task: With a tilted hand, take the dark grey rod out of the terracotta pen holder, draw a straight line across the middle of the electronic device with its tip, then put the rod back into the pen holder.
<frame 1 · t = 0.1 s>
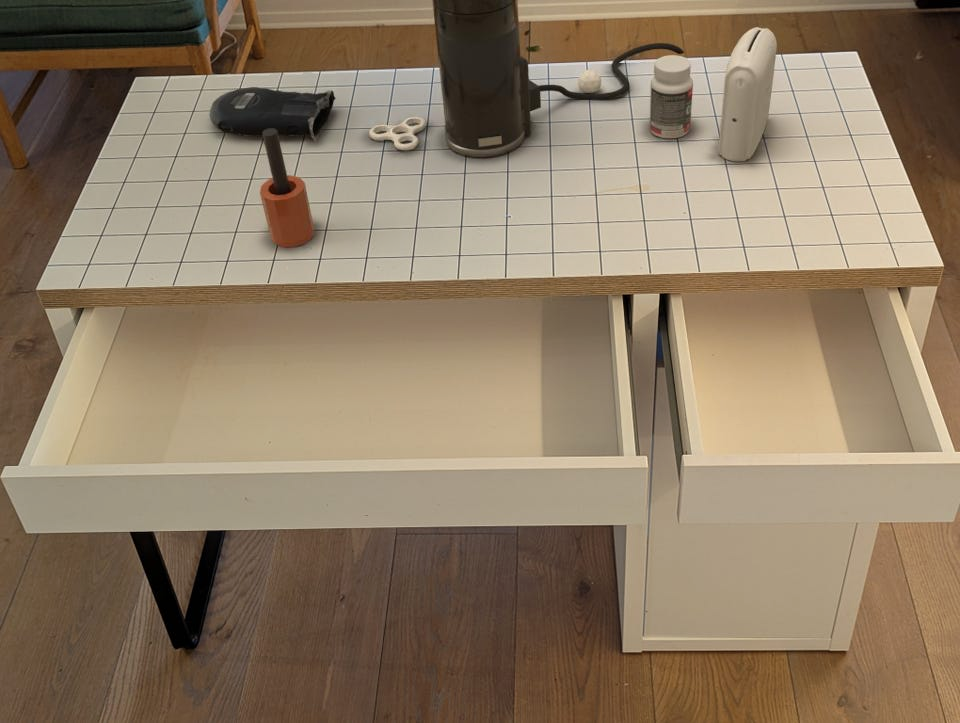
electronic device: (271, 124, 134), on the table
pen holder: (292, 234, 115), on the table
polyhedron: (589, 94, 134), on the table
fidget spinner: (402, 139, 129), on the table
photo printer: (742, 141, 123), on the table
dark grey rod: (292, 230, 115), resting on pen holder
pill bottle: (669, 130, 126), on the table
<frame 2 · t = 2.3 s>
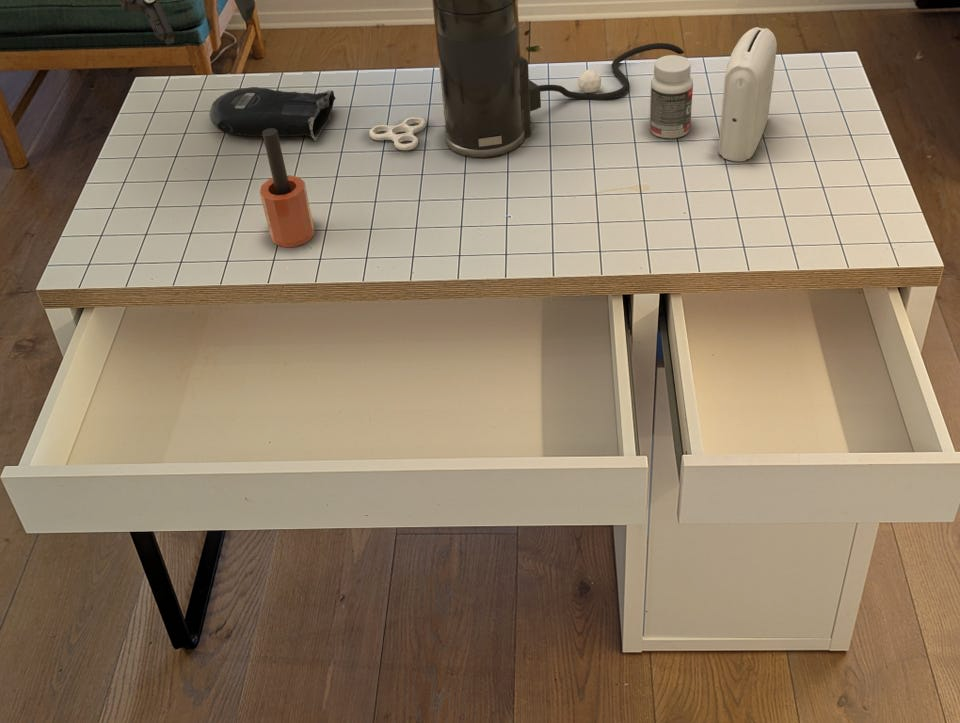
hand: (210, 28, 110), 19 cm above the table, tool tilted 45°, fingers open, 8 cm apart
nothing on the table moved.
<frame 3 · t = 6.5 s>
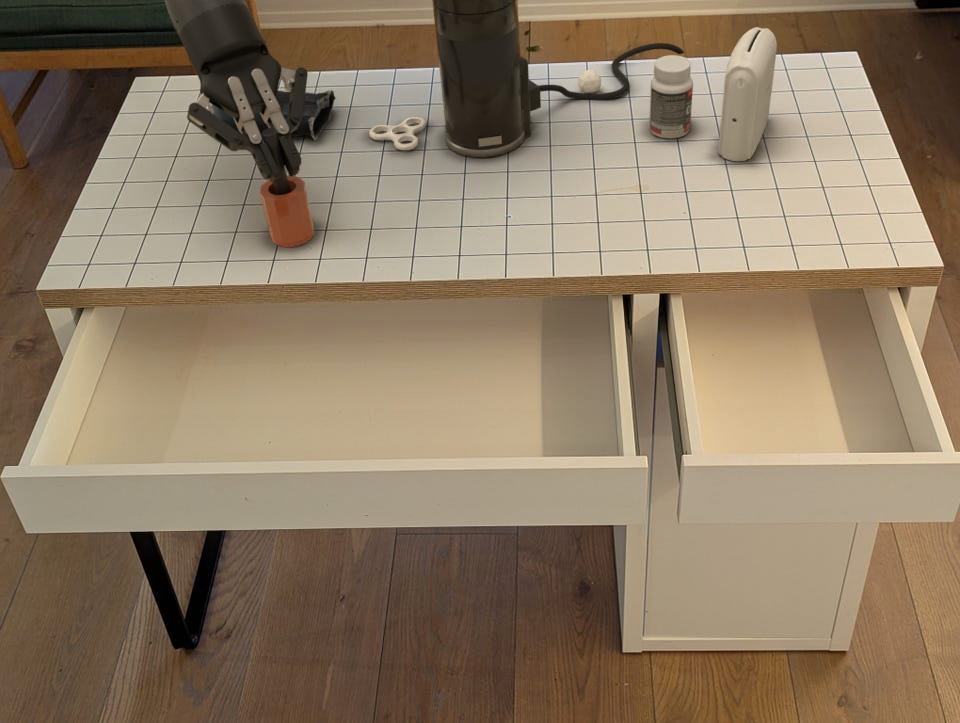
hand: (286, 176, 108), 8 cm above the table, tool tilted 45°, fingers closed on dark grey rod, 1 cm apart
dark grey rod: (291, 230, 115), point 1 cm above the table, touching gripper
everything else where it was.
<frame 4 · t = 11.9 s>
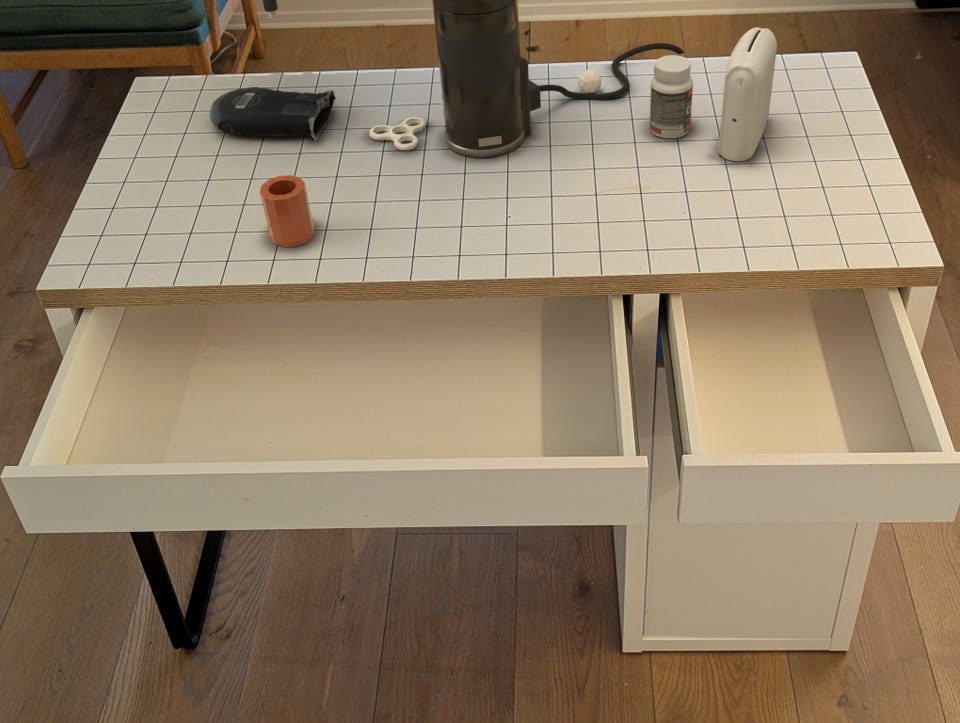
dark grey rod: (272, 17, 121), point 15 cm above the table, touching gripper
everything else where it was.
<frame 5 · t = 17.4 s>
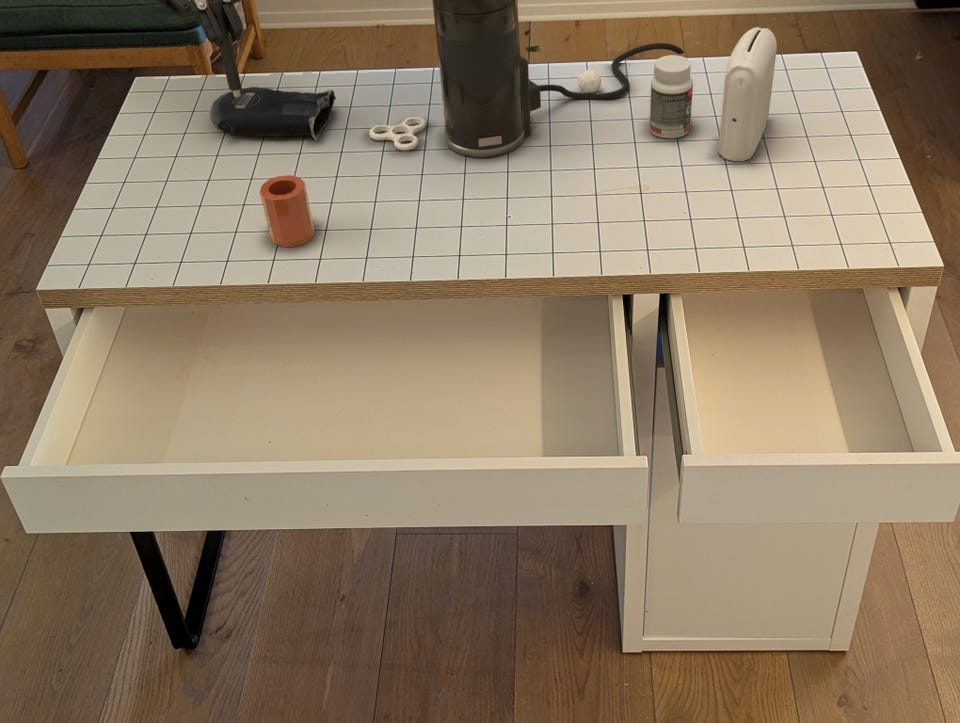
hand: (229, 40, 123), 13 cm above the table, tool tilted 45°, fingers closed on dark grey rod, 1 cm apart
dark grey rod: (237, 95, 130), point 5 cm above the table, touching gripper
everything else where it was.
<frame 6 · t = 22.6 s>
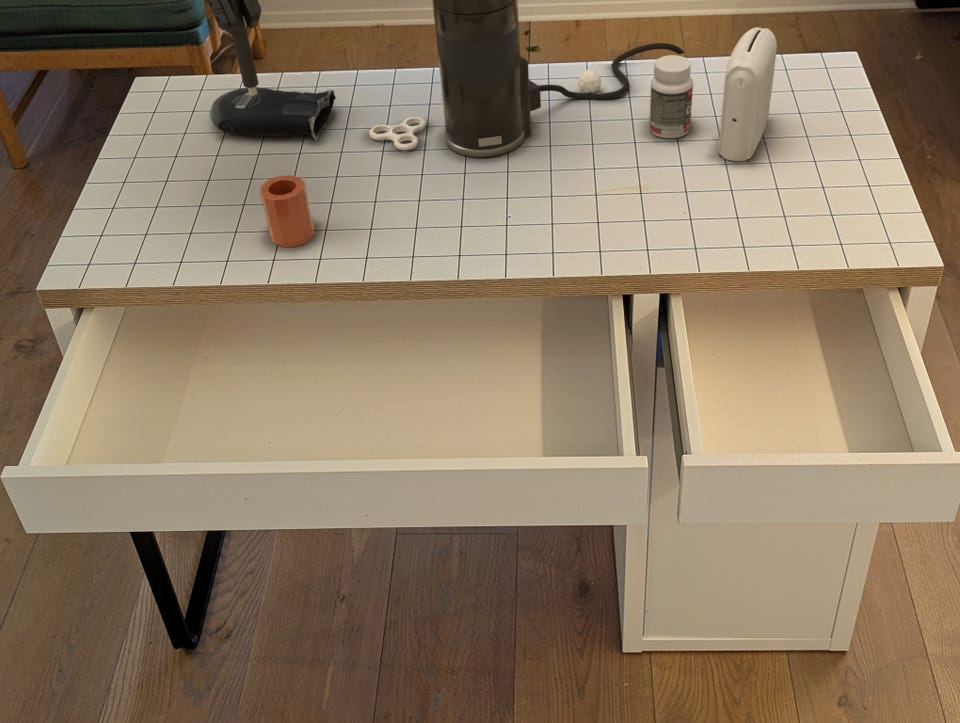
hand: (244, 26, 102), 23 cm above the table, tool tilted 45°, fingers closed on dark grey rod, 1 cm apart
dark grey rod: (253, 93, 108), point 15 cm above the table, touching gripper
everything else where it was.
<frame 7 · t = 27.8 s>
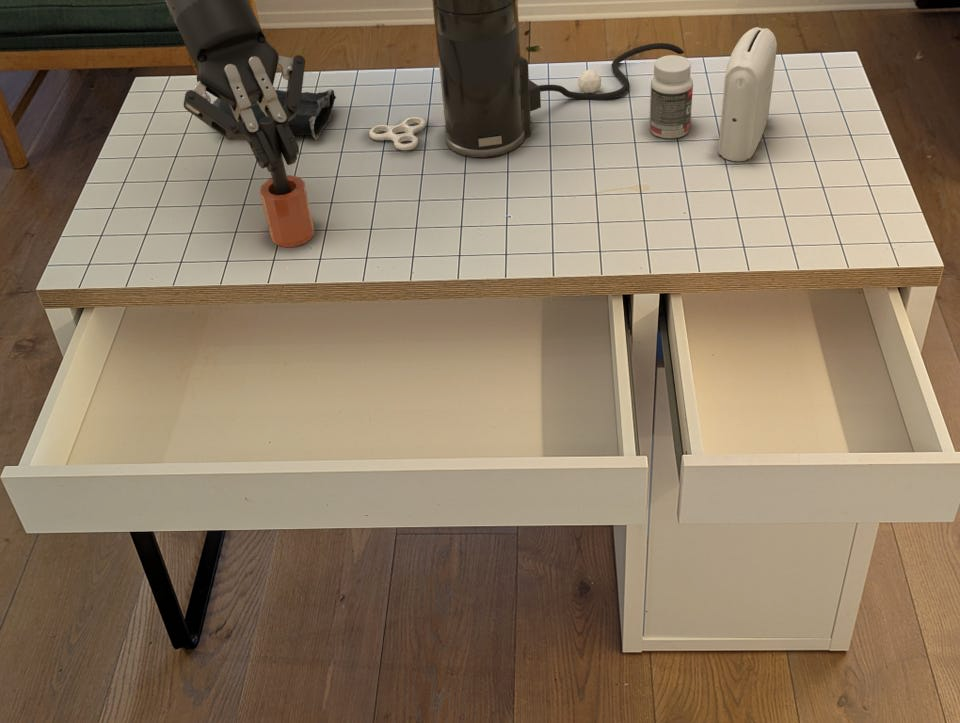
hand: (283, 164, 108), 10 cm above the table, tool tilted 45°, fingers closed on dark grey rod, 1 cm apart
dark grey rod: (289, 220, 114), point 2 cm above the table, touching gripper
everything else where it was.
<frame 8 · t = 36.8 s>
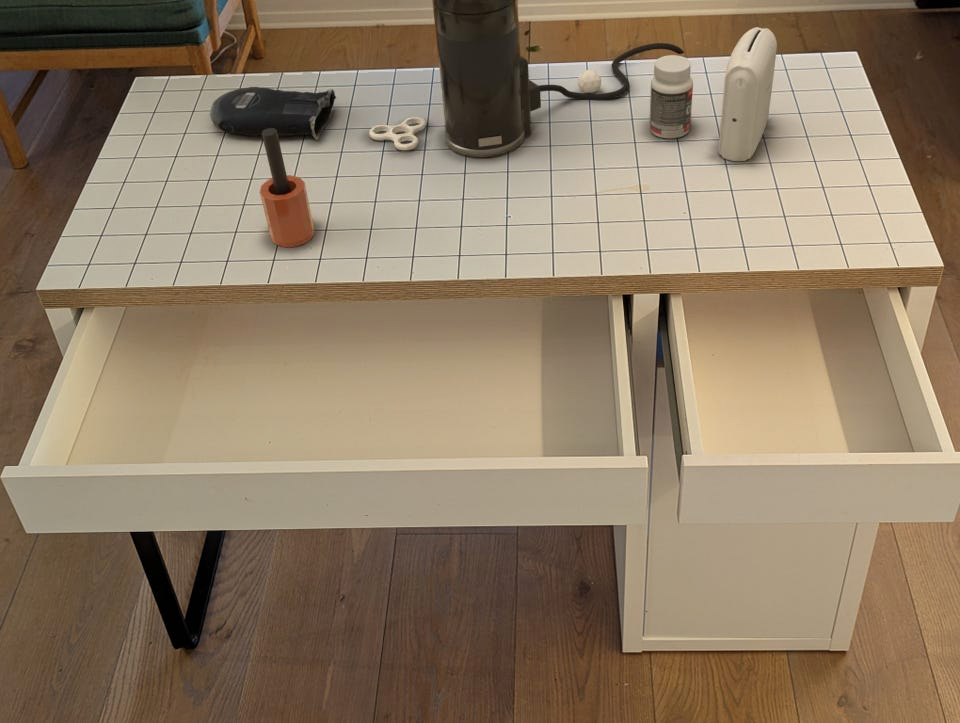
dark grey rod: (291, 230, 115), resting on pen holder
everything else where it was.
at the end: dark grey rod 0.1 cm off-centre in the pen holder, point 0.5 cm above the pen holder's base; dark grey rod tilted 0°; electronic device moved 0.2 cm from its start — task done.
